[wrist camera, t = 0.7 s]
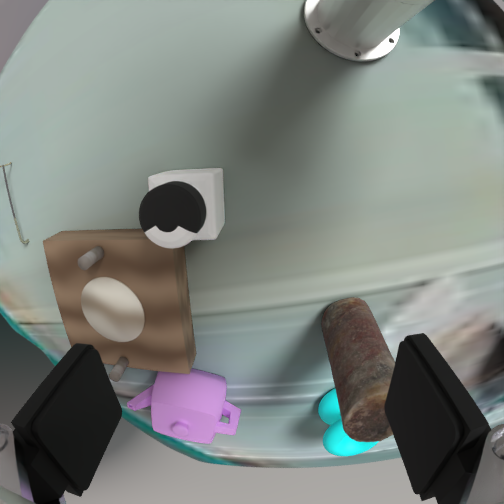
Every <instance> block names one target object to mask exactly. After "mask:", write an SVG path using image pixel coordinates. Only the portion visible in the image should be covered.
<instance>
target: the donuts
mask: <svg viewBox="0 0 504 504" xmlns="http://www.w3.org/2000/svg"><path fill="white" fill-rule="evenodd" d="M318 412H319V416H320V418H321V419H322V420H323V421H324V422H325V423H327V424H329V425H331V426H330V427H329V428H328V429H327V430H326V432H325V434H324V436H323V445H324V447H325V449H326V450H327V451H328V452H329V453H331V454H334V455H337V456H352V455H357V454H360V453H363V452H365V451H367V450H369V449H371V448H372V447H373V446H375V445H376V444H377V443H378V442H379V441H376V442H358V441H355V440H353V439H351V438H350V437H349V436H348V435H347V434H346V433H345V431H344V430H343V425H342V419H341V414H340V409H339V404H338V399H337V394H336V389H333V390H331V391H330V392H328V393H327V394H326V395H325V396H324V397H323V398H322V400H321V402H320V404H319V407H318Z"/></svg>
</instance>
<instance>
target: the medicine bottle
mask: <svg viewBox="0 0 504 504" xmlns="http://www.w3.org/2000/svg"><path fill="white" fill-rule="evenodd" d="M148 186H149V192H148V193H147V194H146V195H145V197H144V198H143V200H142V202H141V205H140V210H139V220H140V224H141V227H142V229H143V231H144V233H145V234H146V236H147V237H148V238H149V239H150V240H151V241H152V242H154V243H155V244H157V245H159V246H161V247H164V248H179V247H182V246H185V245H186V244H188V243H189V242H191V241H192V240H215V239H216V238H217V236H218V235H219V233H220V231H221V229H222V227H223V225H224V224H225V210H224V184H223V169H222V168H204V169H185V170H170V171H166V172H162V173H158V174H155V175H151V176H149V178H148Z"/></svg>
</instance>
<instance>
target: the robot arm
mask: <svg viewBox="0 0 504 504" xmlns="http://www.w3.org/2000/svg"><path fill="white" fill-rule="evenodd" d="M433 1H434V0H306V2H305V6H304V19H305V22H306V26H307V28H308V30H309V31H310V33H311V35H312V36H313V37H314V38H315V40H316V41H317V42H318V43H319V44H320V45H321V46H323V47H324V48H325V49H327V50H328V51H330V52H331V53H333V54H335V55H337V56H339V57H342V58H345V59H348V60H353V61H373V60H377V59H379V58H382V57H383V56H385V55H387V54H388V53H389V52H390V51H391V50H393V48H394V47H395V46H396V44H397V42H398V39H399V33H400V27H401V26H402V25H404V24H405V23H406V22H407V21H409V20H410V19H411V18H412V17H414V16H415V15H416V14H417V13H419V12H420V11H421V10H423V9H424V8H425V7H426V6H428V5H429V4H430V3H432V2H433ZM503 1H504V0H503ZM316 32H319V34H318V33H316ZM389 42H390V43H389ZM355 54H357V56H358V57H357V56H355ZM384 409H385V414H386V417H387V419H388V422H389V425H390V427H391V430H392V433H393V435H394V438H395V441H396V443H397V446H398V449H399V451H400V454H401V457H402V460H403V462H404V465H405V468H406V470H407V474H408V476H409V480H410V482H411V486H412V489H413V491H414V493H415V494H420V497H421V500H422V501H424V500H427V499H430V498H432V497H436V500H437V503H438V504H504V424H501V425H498V426H496V427H494V428H493V429H492V430H491V428H490V426H489V425H488V424H489V423H488V422H487V420H486V419H485V417H484V415H483V414H482V412H481V411H480V409H479V408H478V406H477V405H476V403H475V402H474V400H473V399H472V397H471V396H470V395H469V393H468V392H467V390H466V389H465V387H464V386H463V384H462V383H461V382H460V380H459V379H458V377H457V376H456V375H455V373H454V372H453V370H452V369H451V368H450V366H449V365H448V363H447V362H446V361H445V359H444V358H443V357H442V355H441V354H440V353H439V351H438V350H437V349H436V347H435V346H434V345H433V343H432V342H431V341H430V340H429V338H428V337H427V336H426V335H425V334H424V333H421V334H415V335H409V336H406V337H405V339H404V341H402V342H400V344H399V348H398V353H397V357H396V362H395V366H394V370H393V374H392V378H391V382H390V386H389V390H388V394H387V397H386V401H385V406H384ZM121 416H122V408H121V406H120V403H119V401H118V399H117V397H116V394H115V392H114V390H113V387H112V385H111V382H110V380H109V377H108V375H107V372H106V370H105V367H104V365H103V362H102V359H101V357H100V354H99V352H98V350H96V349H95V348H94V346H93V345H91V344H81V343H76V344H74V345H73V346H72V348H71V349H70V350H69V351H68V352H67V353H66V355H65V356H64V357H63V358H62V359H61V360H60V362H59V363H58V364H57V365H56V366H55V368H54V369H53V370H52V371H51V372H50V374H49V375H48V376H47V377H46V379H45V380H44V381H43V382H42V383H41V385H40V386H39V387H38V388H37V389H36V391H35V392H34V393H33V394H32V396H31V397H30V398H29V400H28V401H27V402H26V404H25V405H24V406H23V407H22V409H21V410H20V411H19V412H18V414H17V415H16V416H15V418H14V419H13V420H12V422H11V423H12V424H13V426H14V427H15V430H14V431H12V430H11V429H10V427H8V426H7V425H4V424H0V504H66V501H65V498H64V495H63V494H64V491H65V490H66V491H67V492H69V493H72V494H75V495H77V496H82V493H83V491H84V490H87V489H88V487H89V486H90V483H91V481H92V479H93V477H94V474H95V472H96V470H97V468H98V465H99V463H100V461H101V459H102V457H103V455H104V452H105V450H106V448H107V446H108V444H109V442H110V439H111V437H112V435H113V433H114V431H115V429H116V427H117V425H118V423H119V421H120V419H121Z"/></svg>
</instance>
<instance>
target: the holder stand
mask: <svg viewBox="0 0 504 504" xmlns="http://www.w3.org/2000/svg"><path fill="white" fill-rule="evenodd" d="M43 245H44V250H45V255H46V259H47V264H48V268H49V273H50V277H51V281H52V285H53V289H54V293H55V296H56V300H57V304H58V307H59V310H60V314H61V317H62V320H63V323H64V327H65V330H66V333H67V336H68V339H69V341H70V344H71V347H72V346H73V345H74V344H76V343H81V344H91V345H93V346H94V348H95V349H96V350H98V352H99V354H100V357H101V359H102V362H103V363H105V364H111V365H115V366H114V368H113V369H112V371H111V372H110V374H109V377H110V379H111V380H113V381H115V382H118V381H119V380H120V378H121V376H122V374H123V373H124V371H125V369H126V367H130V368H138V369H145V370H153V371H162V372H172V373H182V374H190V372H191V368H192V365H193V362H194V359H195V356H196V348H195V340H194V333H193V325H192V317H191V308H190V299H189V290H188V280H187V270H186V260H185V248H184V246H182V247H179V248H164V247H161V246H159V245H157V244H155V243H154V242H152V241H151V240H150V239H149V238H148V237H147V236H146V234H145V233H144V231H143V229H112V230H79V231H61V232H59V233H57V234H55V235H53V236H51V237H50V238H48V239H46V240H44V241H43Z"/></svg>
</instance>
